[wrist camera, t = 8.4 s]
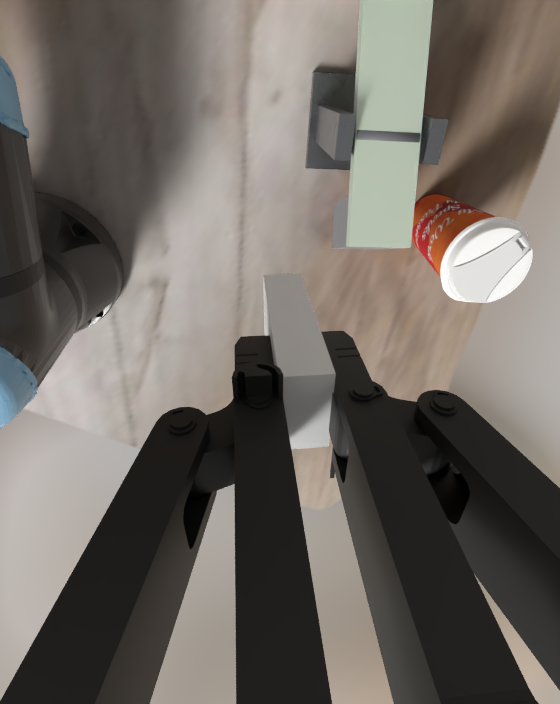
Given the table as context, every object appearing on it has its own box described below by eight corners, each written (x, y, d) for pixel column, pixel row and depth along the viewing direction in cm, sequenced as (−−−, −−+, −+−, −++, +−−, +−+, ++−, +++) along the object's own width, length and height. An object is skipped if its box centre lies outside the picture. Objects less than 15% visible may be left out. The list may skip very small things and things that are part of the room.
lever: (330, 248, 39) (351, 245, 31) (343, -11, 34) (371, -88, 27) (382, 249, 39) (414, 247, 32) (401, -7, 35) (445, -81, 27)
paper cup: (439, 167, 43) (511, 200, 31) (477, 217, 46) (555, 264, 34) (381, 222, 46) (427, 272, 34) (421, 266, 49) (475, 325, 37)
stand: (305, 166, 42) (324, 194, 32) (312, 72, 37) (337, 69, 27) (390, 170, 43) (435, 199, 32) (408, 78, 38) (466, 78, 28)
